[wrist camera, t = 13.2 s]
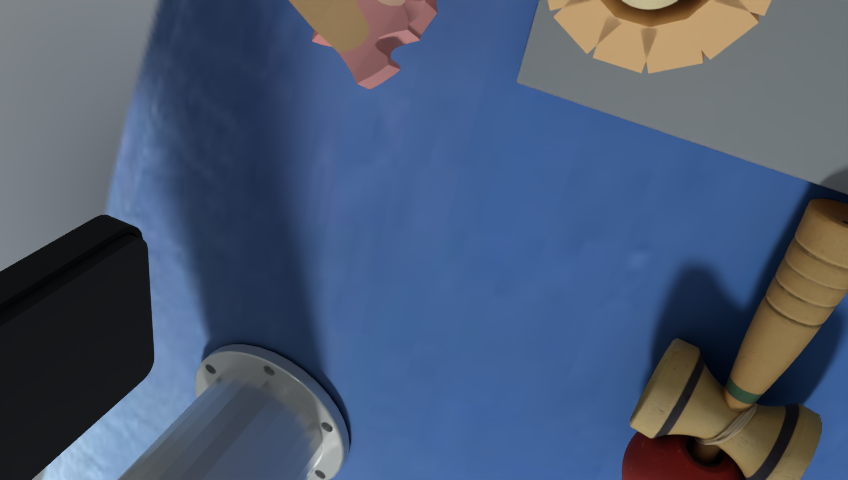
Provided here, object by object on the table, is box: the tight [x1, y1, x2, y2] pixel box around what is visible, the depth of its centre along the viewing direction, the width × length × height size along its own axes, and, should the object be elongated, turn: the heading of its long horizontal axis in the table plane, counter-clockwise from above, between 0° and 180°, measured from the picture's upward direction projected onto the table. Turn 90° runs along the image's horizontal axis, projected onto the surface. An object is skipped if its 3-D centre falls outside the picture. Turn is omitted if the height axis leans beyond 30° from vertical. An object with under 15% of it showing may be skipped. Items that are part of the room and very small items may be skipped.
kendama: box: [622, 198, 848, 480], centre depth 30 cm, size 8×6×18 cm
